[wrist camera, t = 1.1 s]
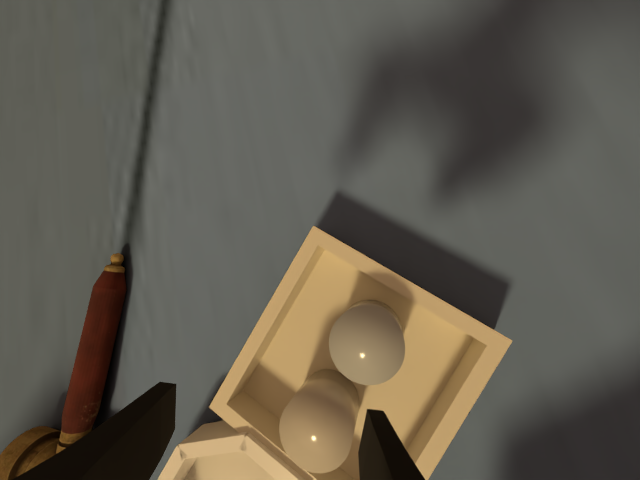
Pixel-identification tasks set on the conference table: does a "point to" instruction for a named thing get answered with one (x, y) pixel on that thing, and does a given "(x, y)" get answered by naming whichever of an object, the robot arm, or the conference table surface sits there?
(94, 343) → the gavel
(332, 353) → the stone
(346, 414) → the stone
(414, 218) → the conference table surface
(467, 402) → the tray
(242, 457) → the bowl
